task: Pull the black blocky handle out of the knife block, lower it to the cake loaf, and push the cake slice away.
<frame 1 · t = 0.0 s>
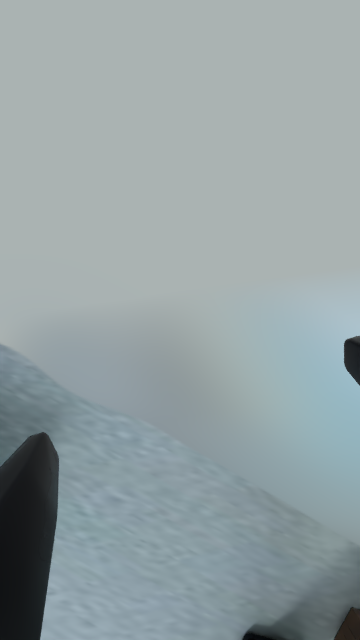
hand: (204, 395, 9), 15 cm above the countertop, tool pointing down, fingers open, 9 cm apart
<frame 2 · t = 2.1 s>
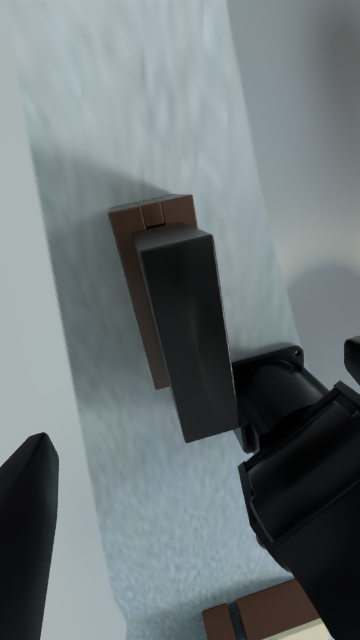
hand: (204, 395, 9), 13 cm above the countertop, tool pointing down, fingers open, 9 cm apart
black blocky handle: (161, 281, 20), point 1 cm above the countertop, touching knife block
cake loaf: (274, 609, 39), on the countertop
cake slice: (219, 628, 39), on the countertop
knife block: (159, 279, 21), on the countertop
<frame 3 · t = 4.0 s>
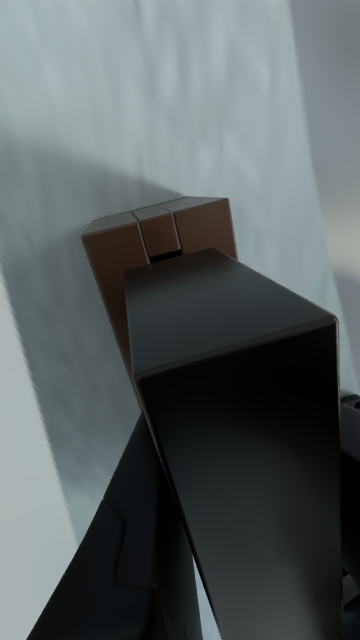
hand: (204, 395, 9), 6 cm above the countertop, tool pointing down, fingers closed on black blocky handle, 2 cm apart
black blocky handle: (172, 323, 14), point 1 cm above the countertop, touching gripper, knife block
knife block: (170, 318, 15), on the countertop
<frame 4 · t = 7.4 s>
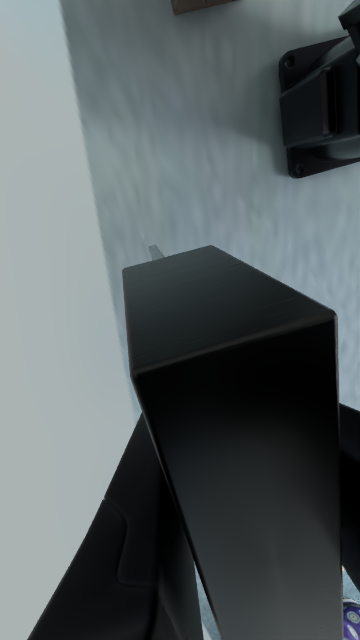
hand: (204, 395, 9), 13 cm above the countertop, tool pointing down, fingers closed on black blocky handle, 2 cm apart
teapot: (325, 618, 43), on the countertop
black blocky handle: (171, 322, 14), point 8 cm above the countertop, touching gripper
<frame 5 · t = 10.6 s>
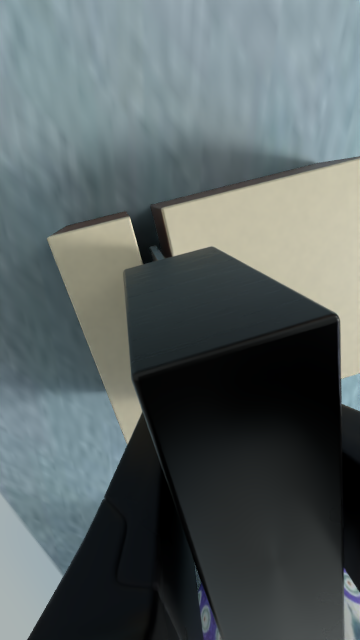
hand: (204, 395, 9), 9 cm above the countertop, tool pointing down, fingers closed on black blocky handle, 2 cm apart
teapot: (259, 557, 28), on the countertop
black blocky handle: (172, 322, 14), point 4 cm above the countertop, touching gripper
cake loaf: (249, 277, 18), on the countertop
cake slice: (125, 311, 17), on the countertop
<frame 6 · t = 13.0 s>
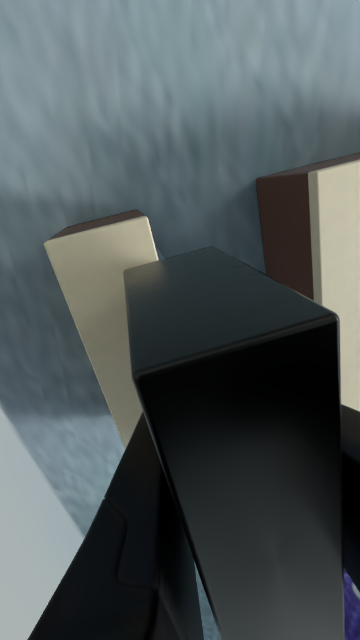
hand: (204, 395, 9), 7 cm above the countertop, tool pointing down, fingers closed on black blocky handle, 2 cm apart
teapot: (320, 568, 26), on the countertop
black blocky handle: (172, 323, 14), point 1 cm above the countertop, touching cake slice, gripper
cake loaf: (350, 263, 16), on the countertop
cake slice: (135, 325, 15), on the countertop, touching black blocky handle
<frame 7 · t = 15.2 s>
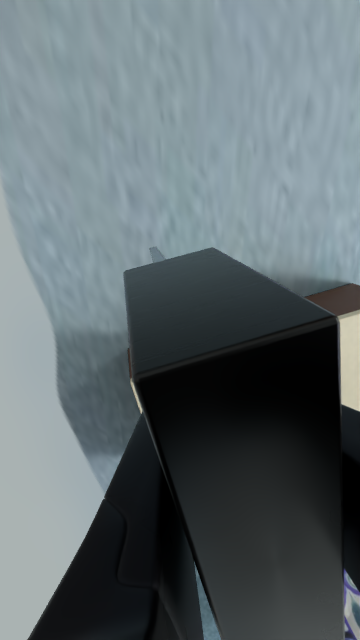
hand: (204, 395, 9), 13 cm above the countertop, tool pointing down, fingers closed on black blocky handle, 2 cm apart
teapot: (295, 559, 35), on the countertop
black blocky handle: (172, 323, 14), point 7 cm above the countertop, touching gripper
cake loaf: (301, 356, 25), on the countertop
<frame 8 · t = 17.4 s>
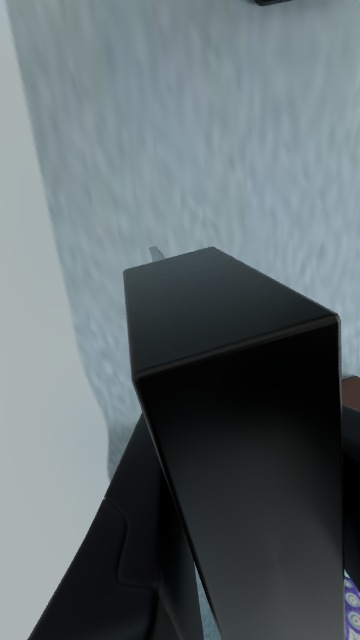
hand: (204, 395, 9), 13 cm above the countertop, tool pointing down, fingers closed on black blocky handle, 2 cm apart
teapot: (303, 591, 39), on the countertop
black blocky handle: (172, 323, 14), point 8 cm above the countertop, touching gripper
cake loaf: (312, 433, 29), on the countertop
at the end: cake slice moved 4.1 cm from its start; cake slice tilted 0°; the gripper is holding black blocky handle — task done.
